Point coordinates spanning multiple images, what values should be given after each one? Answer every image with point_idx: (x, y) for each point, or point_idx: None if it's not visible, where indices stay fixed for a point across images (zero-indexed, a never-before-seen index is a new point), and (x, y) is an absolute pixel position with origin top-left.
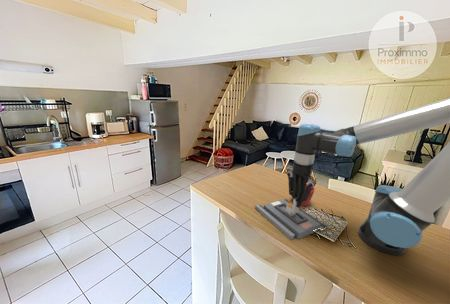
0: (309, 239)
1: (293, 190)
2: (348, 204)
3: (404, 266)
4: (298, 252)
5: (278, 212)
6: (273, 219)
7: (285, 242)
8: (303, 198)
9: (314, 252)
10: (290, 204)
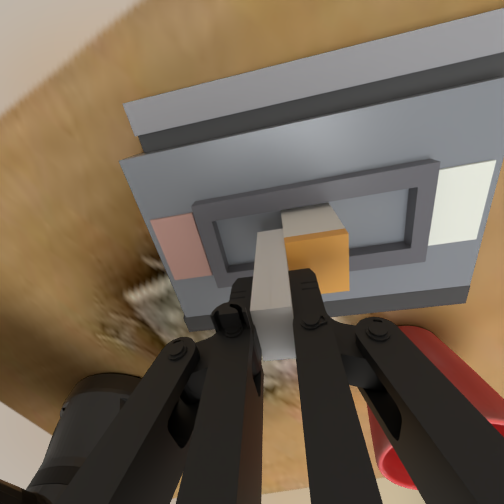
0: (138, 212)
1: (343, 422)
2: (301, 457)
3: (37, 381)
4: (41, 85)
5: (356, 152)
6: (314, 69)
7: (116, 48)
8: (134, 394)
9: (54, 176)
10: (328, 260)
